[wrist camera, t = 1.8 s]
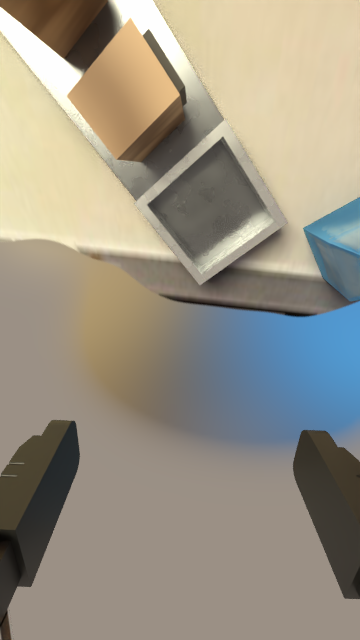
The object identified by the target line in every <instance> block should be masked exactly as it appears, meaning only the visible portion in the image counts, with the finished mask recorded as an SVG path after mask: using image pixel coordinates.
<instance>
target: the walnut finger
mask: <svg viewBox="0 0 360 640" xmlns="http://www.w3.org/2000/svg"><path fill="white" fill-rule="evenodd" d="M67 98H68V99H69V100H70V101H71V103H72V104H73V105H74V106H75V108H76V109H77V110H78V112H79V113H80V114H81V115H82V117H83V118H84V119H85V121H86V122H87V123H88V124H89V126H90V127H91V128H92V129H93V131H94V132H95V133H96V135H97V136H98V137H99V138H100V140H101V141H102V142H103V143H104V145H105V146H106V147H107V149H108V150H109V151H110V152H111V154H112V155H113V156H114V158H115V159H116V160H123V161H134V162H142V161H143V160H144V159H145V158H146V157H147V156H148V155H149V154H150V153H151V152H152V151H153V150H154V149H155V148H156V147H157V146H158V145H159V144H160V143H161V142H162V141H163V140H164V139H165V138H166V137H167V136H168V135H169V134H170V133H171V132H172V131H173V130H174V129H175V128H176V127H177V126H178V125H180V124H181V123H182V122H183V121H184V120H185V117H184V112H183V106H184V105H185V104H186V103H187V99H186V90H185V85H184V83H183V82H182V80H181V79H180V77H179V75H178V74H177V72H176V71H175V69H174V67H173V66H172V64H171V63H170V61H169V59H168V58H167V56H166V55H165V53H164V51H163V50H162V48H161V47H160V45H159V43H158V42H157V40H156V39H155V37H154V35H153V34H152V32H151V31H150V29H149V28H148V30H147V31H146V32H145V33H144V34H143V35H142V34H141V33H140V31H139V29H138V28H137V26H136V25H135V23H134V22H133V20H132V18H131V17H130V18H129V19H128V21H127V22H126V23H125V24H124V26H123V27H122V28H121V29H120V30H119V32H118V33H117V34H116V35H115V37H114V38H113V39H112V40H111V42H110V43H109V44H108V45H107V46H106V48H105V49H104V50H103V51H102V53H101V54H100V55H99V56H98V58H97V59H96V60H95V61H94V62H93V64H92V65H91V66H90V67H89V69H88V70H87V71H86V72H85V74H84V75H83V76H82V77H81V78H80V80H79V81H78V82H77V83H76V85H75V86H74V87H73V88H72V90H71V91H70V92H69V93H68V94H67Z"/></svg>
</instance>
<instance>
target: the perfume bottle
mask: <svg viewBox="0 0 360 640" xmlns="http://www.w3.org/2000/svg"><path fill="white" fill-rule="evenodd" d="M303 229H304V232H305V234H306V237H307V239H308V242H309V244H310V247H311V249H312V252H313V254H314V257H315V259H316V262H317V264H318V267H319V269H320V272H321V274H322V277H323V278H324V279H325V280H326V281H327V282H328V283H329V284H330V285H332V286H333V287H334V288H335V289H336V290H337V291H339V292H340V293H341V294H342V295H343V296H344V297H345V298H347V299H348V300H349V301H356V300H360V197H359V198H357V199H355V200H354V201H352V202H350V203H348V204H346V205H345V206H343V207H341V208H339V209H337V210H335V211H334V212H332V213H330V214H328V215H326V216H324V217H323V218H321V219H319V220H317V221H315V222H314V223H312V224H310V225H308V226H306V227H304V228H303Z"/></svg>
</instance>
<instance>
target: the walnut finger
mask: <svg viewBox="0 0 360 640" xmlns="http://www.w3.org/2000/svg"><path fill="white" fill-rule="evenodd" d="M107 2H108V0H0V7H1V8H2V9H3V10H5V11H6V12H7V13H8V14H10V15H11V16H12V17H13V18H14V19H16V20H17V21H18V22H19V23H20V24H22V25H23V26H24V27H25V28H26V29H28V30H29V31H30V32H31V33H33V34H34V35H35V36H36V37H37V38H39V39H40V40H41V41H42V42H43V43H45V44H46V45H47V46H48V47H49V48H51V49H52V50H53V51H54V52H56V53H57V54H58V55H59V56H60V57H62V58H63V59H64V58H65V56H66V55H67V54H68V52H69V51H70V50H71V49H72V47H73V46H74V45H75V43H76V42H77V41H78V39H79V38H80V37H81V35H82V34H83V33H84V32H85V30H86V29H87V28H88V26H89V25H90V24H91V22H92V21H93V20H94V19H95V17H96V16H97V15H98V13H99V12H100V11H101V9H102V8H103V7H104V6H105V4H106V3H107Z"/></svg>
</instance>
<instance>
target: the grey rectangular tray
mask: <svg viewBox="0 0 360 640" xmlns="http://www.w3.org/2000/svg"><path fill="white" fill-rule="evenodd" d="M130 17H131V18H132V20H133V22H134V23H135V25H136V26H137V28H138V29H139V31H140V33H141V34H142V35H143V34H144V33H145V32H146V31H147V30H148V28H149V29H150V31H151V32H152V34H153V35H154V37H155V39H156V40H157V42H158V43H159V45H160V47H161V48H162V50H163V51H164V53H165V55H166V56H167V58H168V59H169V61H170V63H171V64H172V66H173V67H174V69H175V71H176V72H177V74H178V75H179V77H180V79H181V80H182V82H183V83H184V85H185V90H186V99H187V103H186V104H185V105H184V106H183V112H184V117H185V120H184V121H183V122H182V123H181V124H180V125H178V126H177V127H176V128H175V129H174V130H173V131H172V132H171V133H170V134H169V135H168V136H167V137H166V138H165V139H164V140H163V141H162V142H161V143H160V144H159V145H158V146H157V147H156V148H155V149H154V150H153V151H152V152H151V153H150V154H149V155H148V156H147V157H146V158H145V159H144V160H143V161H142V162H134V161H123V160H116V159H115V158H114V156H113V155H112V154H111V152H110V151H109V150H108V149H107V147H106V146H105V145H104V143H103V142H102V141H101V140H100V138H99V137H98V136H97V135H96V133H95V132H94V131H93V129H92V128H91V127H90V126H89V124H88V123H87V122H86V121H85V119H84V118H83V117H82V115H81V114H80V113H79V112H78V110H77V109H76V108H75V106H74V105H73V104H72V103H71V101H70V100H69V99H68V98H67V94H68V93H69V92H70V91H71V90H72V88H73V87H74V86H75V85H76V83H77V82H78V81H79V80H80V78H81V77H82V76H83V75H84V74H85V72H86V71H87V70H88V69H89V67H90V66H91V65H92V64H93V62H94V61H95V60H96V59H97V58H98V56H99V55H100V54H101V53H102V51H103V50H104V49H105V48H106V46H107V45H108V44H109V43H110V42H111V40H112V39H113V38H114V37H115V35H116V34H117V33H118V32H119V30H120V29H121V28H122V27H123V26H124V24H125V23H126V22H127V21H128V19H129V18H130ZM0 31H1V32H2V34H3V35H4V36H5V37H6V39H7V40H8V41H9V42H10V44H11V45H12V46H13V47H14V49H15V50H16V51H17V52H18V54H19V55H20V56H21V57H22V59H23V60H24V61H25V62H26V64H27V65H28V66H29V67H30V69H31V70H32V71H33V72H34V74H35V75H36V76H37V77H38V78H39V80H40V81H41V82H42V83H43V85H44V86H45V87H46V88H47V90H48V91H49V92H50V93H51V95H52V96H53V97H54V98H55V100H56V101H57V102H58V103H59V105H60V106H61V107H62V108H63V110H64V111H65V112H66V113H67V115H68V116H69V117H70V118H71V120H72V121H73V122H74V123H75V125H76V126H77V127H78V128H79V130H80V131H81V132H82V133H83V135H84V136H85V137H86V138H87V140H88V141H89V142H90V143H91V145H92V146H93V147H94V148H95V150H96V151H97V152H98V153H99V155H100V156H101V157H102V158H103V160H104V161H105V162H106V163H107V165H108V166H109V167H110V168H111V170H112V171H113V172H114V173H115V175H116V176H117V177H118V178H119V180H120V181H121V182H122V183H123V185H124V186H125V187H126V188H127V190H128V191H129V192H130V193H131V195H132V196H133V197H134V198H135V200H136V202H135V203H134V204H135V206H136V207H137V208H138V209H139V211H140V212H141V213H142V214H143V215H144V217H145V218H146V219H147V220H148V222H149V223H150V224H151V225H152V227H153V228H154V229H155V230H156V232H157V233H158V234H159V235H160V237H161V238H162V239H163V240H164V241H165V243H166V244H167V245H168V246H169V248H170V249H171V250H172V251H173V253H174V254H175V255H176V256H177V258H178V259H179V260H180V261H181V263H182V264H183V265H184V266H185V267H186V269H187V270H188V271H189V272H190V274H191V275H192V276H193V277H194V279H195V280H196V281H197V282H198V284H199V285H201V284H203V283H204V282H205V281H207V280H208V279H210V278H211V277H212V276H214V275H215V274H217V273H218V272H219V271H221V270H222V269H224V268H225V267H226V266H228V265H229V264H231V263H232V262H233V261H235V260H236V259H238V258H239V257H240V256H242V255H243V254H245V253H246V252H247V251H249V250H250V249H252V248H253V247H254V246H256V245H257V244H259V243H260V242H261V241H263V240H264V239H266V238H267V237H269V236H270V235H271V234H273V233H274V232H276V231H277V230H278V229H280V228H281V227H283V226H284V225H285V224H287V223H288V222H287V220H286V218H285V217H284V215H283V213H282V212H281V210H280V208H279V207H278V205H277V203H276V202H275V200H274V198H273V197H272V195H271V193H270V192H269V190H268V188H267V187H266V185H265V183H264V182H263V180H262V178H261V176H260V175H259V173H258V171H257V170H256V168H255V166H254V165H253V163H252V161H251V160H250V158H249V156H248V155H247V153H246V151H245V150H244V148H243V146H242V145H241V143H240V141H239V140H238V138H237V136H236V135H235V133H234V131H233V130H232V128H231V126H230V125H229V123H228V121H227V120H226V119H225V120H224V119H223V117H222V116H221V114H220V112H219V111H218V109H217V107H216V106H215V104H214V102H213V101H212V99H211V97H210V96H209V94H208V92H207V91H206V89H205V87H204V86H203V84H202V82H201V81H200V79H199V77H198V76H197V74H196V72H195V71H194V69H193V67H192V66H191V64H190V62H189V61H188V59H187V57H186V56H185V54H184V52H183V51H182V49H181V47H180V46H179V44H178V42H177V41H176V39H175V37H174V36H173V34H172V32H171V31H170V29H169V27H168V26H167V24H166V22H165V21H164V19H163V17H162V16H161V14H160V12H159V11H158V9H157V7H156V6H155V4H154V2H153V1H152V0H108V2H107V3H106V4H105V6H104V7H103V8H102V9H101V11H100V12H99V13H98V15H97V16H96V17H95V19H94V20H93V21H92V22H91V24H90V25H89V26H88V28H87V29H86V30H85V32H84V33H83V34H82V35H81V37H80V38H79V39H78V41H77V42H76V43H75V45H74V46H73V47H72V49H71V50H70V51H69V52H68V54H67V55H66V56H65V58H64V59H63V58H62V57H60V56H59V55H58V54H57V53H56V52H54V51H53V50H52V49H51V48H49V47H48V46H47V45H46V44H45V43H43V42H42V41H41V40H40V39H39V38H37V37H36V36H35V35H34V34H33V33H31V32H30V31H29V30H28V29H26V28H25V27H24V26H23V25H22V24H20V23H19V22H18V21H17V20H16V19H14V18H13V17H12V16H11V15H10V14H8V13H7V12H6V11H5V10H3V9H2V8H1V7H0Z"/></svg>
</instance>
